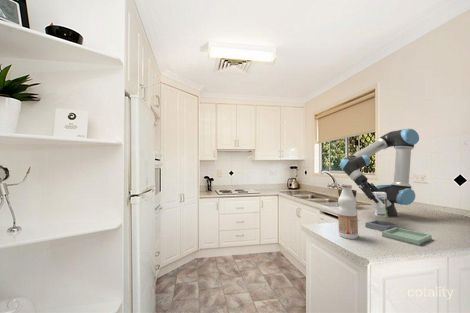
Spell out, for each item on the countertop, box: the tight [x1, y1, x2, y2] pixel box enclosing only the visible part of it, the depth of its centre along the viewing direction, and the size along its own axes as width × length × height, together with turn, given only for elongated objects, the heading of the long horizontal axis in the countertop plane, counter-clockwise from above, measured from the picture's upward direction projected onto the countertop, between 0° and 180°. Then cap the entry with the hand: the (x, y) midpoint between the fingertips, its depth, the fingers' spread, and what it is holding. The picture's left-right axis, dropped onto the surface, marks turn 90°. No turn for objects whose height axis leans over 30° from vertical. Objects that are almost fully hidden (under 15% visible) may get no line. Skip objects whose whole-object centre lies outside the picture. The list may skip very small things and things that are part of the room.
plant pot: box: [337, 188, 357, 199], centre depth 193 cm, size 15×15×16 cm
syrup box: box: [372, 192, 389, 218], centre depth 133 cm, size 6×6×14 cm
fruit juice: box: [337, 184, 359, 240], centre depth 119 cm, size 9×9×28 cm
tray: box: [381, 226, 433, 246], centre depth 114 cm, size 16×16×2 cm
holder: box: [365, 219, 398, 232], centre depth 132 cm, size 12×12×3 cm
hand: (386, 206), depth 130 cm, fingers closed on syrup box, 8 cm apart
